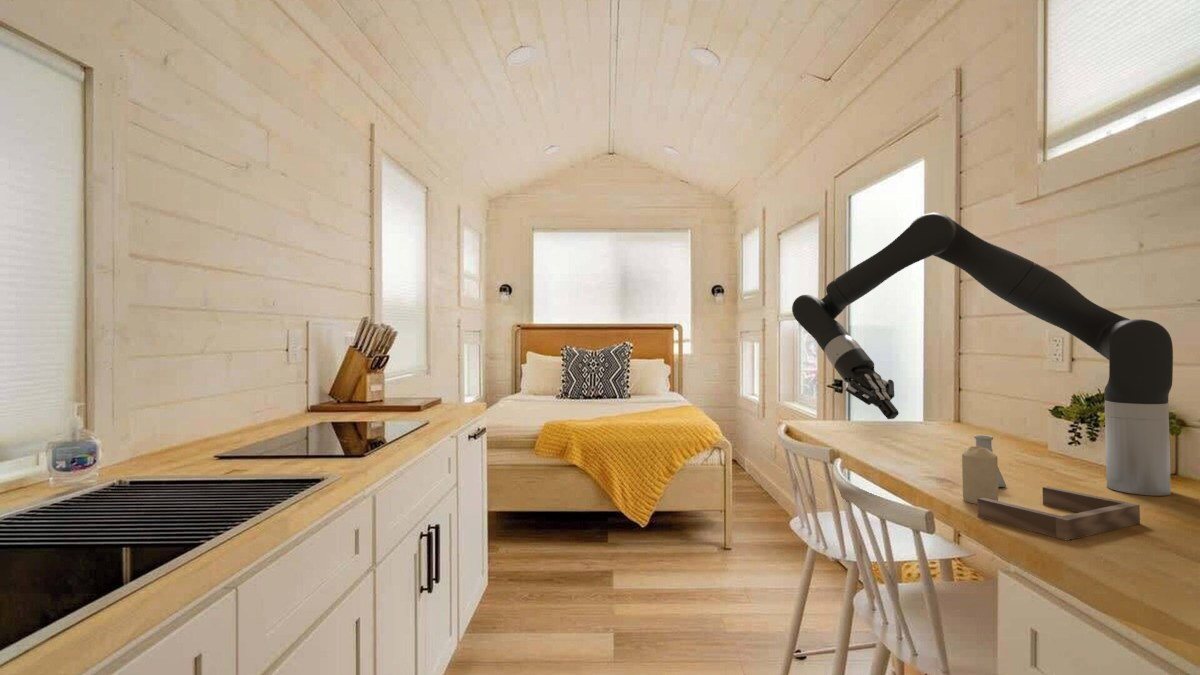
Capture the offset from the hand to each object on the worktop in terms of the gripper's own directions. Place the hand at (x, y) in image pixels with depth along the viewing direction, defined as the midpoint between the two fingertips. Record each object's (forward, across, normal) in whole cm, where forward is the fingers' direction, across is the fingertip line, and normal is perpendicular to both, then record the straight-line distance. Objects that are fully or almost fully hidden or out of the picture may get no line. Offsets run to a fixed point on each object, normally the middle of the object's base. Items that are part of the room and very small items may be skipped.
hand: (894, 416), depth 126 cm
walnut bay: (+31, 0, -12) cm, 33 cm away
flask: (+17, +13, +2) cm, 22 cm away
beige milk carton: (+23, 0, -3) cm, 23 cm away
